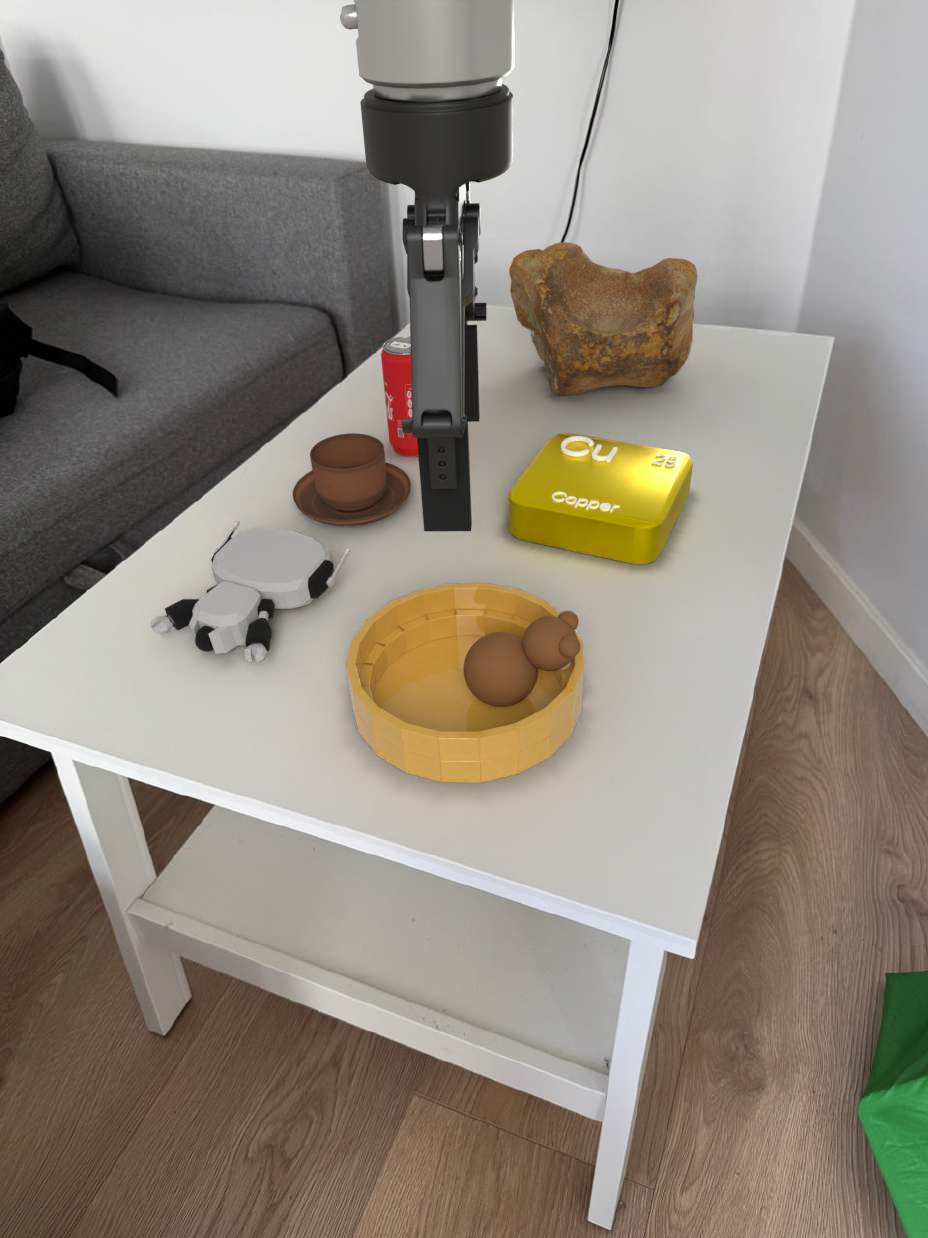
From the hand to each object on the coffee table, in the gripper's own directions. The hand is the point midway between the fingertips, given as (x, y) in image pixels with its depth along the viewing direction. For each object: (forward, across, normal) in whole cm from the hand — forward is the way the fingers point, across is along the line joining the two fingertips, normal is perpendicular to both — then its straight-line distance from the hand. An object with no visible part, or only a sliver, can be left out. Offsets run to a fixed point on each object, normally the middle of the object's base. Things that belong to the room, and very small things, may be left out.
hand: (454, 469), depth 58 cm
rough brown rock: (+21, -58, +13) cm, 63 cm away
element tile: (+21, -27, +12) cm, 36 cm away
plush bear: (+19, 0, 0) cm, 19 cm away
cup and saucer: (+21, -29, -13) cm, 38 cm away
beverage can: (+21, -41, -8) cm, 47 cm away
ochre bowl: (+20, 0, 0) cm, 21 cm away
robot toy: (+21, -11, -19) cm, 30 cm away
